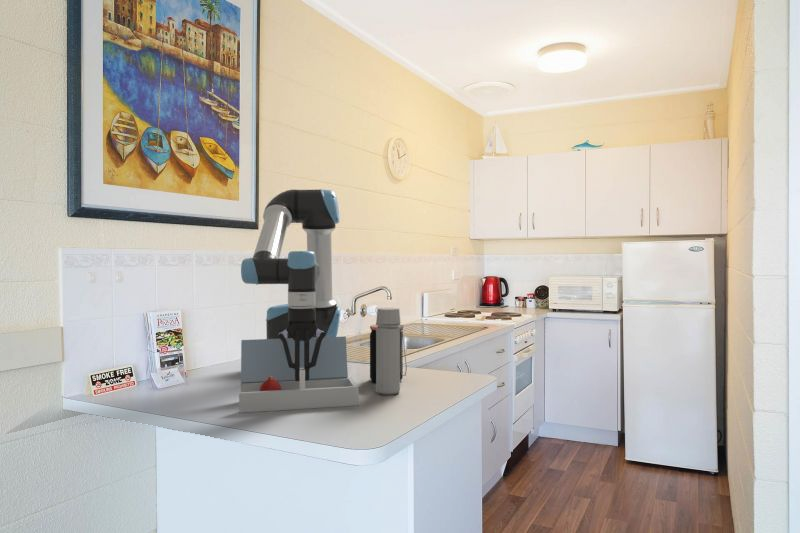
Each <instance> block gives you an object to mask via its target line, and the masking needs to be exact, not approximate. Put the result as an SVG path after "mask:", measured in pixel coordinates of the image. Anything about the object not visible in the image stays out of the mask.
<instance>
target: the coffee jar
mask: <svg viewBox="0 0 800 533" xmlns="http://www.w3.org/2000/svg"><path fill="white" fill-rule="evenodd" d="M376 327H378V326H377V325H376V324H370V326H369V328H370V330H371V332H370V333H369V378H370V380H371V381H372V383H374V384H376ZM401 335H402V330H401V327H400V364H401ZM403 339H404V334H403V335H402V364H401V371H400V382H401V381H402V379H403V378H404V376H402V374H403V375H404V371H403V370H404V369H403V368H404V366H403V364H404V363H403V362H404V361H403V360H404V358H403V354H404V353H403V352H404V345H403ZM401 373H402V374H401Z"/></svg>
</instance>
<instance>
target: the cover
mask: <svg viewBox="0 0 800 533" xmlns="http://www.w3.org/2000/svg"><path fill="white" fill-rule="evenodd" d="M316 339H317V337H316V338H311V339H310V340H309V363H310V362H311V360H312V356H313V351H314V347H315V343H316ZM286 340H287V343H288V347H289V351H290V355H291V359H292V363H295V340H293V338H287V339H286ZM240 345H241V346H240V348H241V349H240V352H241V353H240V354H241V356H240V384H241V383H260V382H265V381H266V380H268V377H269V376H272V377H273V379H274V380H276V381H277V382H280V381H296V380H295V369H293V368H290V367H289V366H288V362H287V358H286V354H285V350H284V346H283V342H282V341H281V339H267V338H266V339H265V338H264V339H263V338H261V339H241V341H240ZM347 354H348V353H347V337H346V336H336V337H324V338H323V339H322V341H321V346H320V350H319V354H318V358H317V362H316V366H315V367H311V368H310V369H309V380H319V379H338V378H349V377H348V376H349V375H348V371H349V370H348V355H347ZM300 368H304V341H300Z"/></svg>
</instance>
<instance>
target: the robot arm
mask: <svg viewBox="0 0 800 533" xmlns="http://www.w3.org/2000/svg"><path fill="white" fill-rule="evenodd" d="M262 215H263V216H262V218H263V221H264V222H263V224H262V226H261V227H262V228H261V230H260V233H259V234H260V235H259V237H258V239H257V243H256V246H255V250H254V252H253V255H252V257H250V258H249V257H248V258H244V259H243V260H242V262H241V264H240V266H241V267H240V275H241V280H242V282H243V283H244V284H248V285H249V284H250V285H287V303H286V304H284V303H283V304H279V305H273V306H270V307H269V308H267V310H266V319H265V322H266V323H265V324H266V339H281V341H282V342H283V346H284V350H285V354H286V358H287V362H288V366H289V367H290V368H293V369H295V380H296V381H299V389H305V381H309V369H310V368H311V367H315V366H316V362H317V358H318V354H319V350H320V346H321V341H322V339H323V338H324V337H338V332H339V326H340V319H341V307H340V306H339V305H338V304H337V303H338V302H337V300H335V299H334V298H333V267H332V266H333V264H332V261H333V260H332V257H333V254H332V252H333V251H332V233H333V231H334V230H335V229H336V224H339V223H340V211H339V203H338V199H337V194H336V193H335V191H333V189H332V190H331V189H288V190H285V191H282V192H280V193H279V194H277V195H275V196H274V197H273V198H272V199H271V200H270V201H269V202H268V203H267V204H266V206H265V208H264V210H263V214H262ZM291 224H302V225H301V229H302V230H304V232H305V233H306V250H293V251H289V252H288V254H287V258H282V257H281V258H280V256H281V253H282V248H283V243H284V240H285V236H286V232H287V228H289V226H290V225H291ZM316 337H317V339H316V343H315V347H314V351H313V356H312V360H311V362H310V363H309V340H310V339H311V338H316ZM287 338H293V340H295V363H292V359H291V355H290V351H289V347H288V343H287V340H286V339H287ZM300 341H304V368H300Z"/></svg>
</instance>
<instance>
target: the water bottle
mask: <svg viewBox="0 0 800 533" xmlns="http://www.w3.org/2000/svg"><path fill="white" fill-rule="evenodd" d="M400 312H401V311H400V308H399V307H380V308H379V307H378V308H377V310H376V322H375V325H377V326H378V327H376V383H375V385H376V388H375V391H376V393H378V394H379V395H383V396H392V395H396V394H398V393H400V390H401V381H400V371H401V364H402V335H403V336H404V331H403V330H404V325H403V324H401V322H402V321H401V313H400ZM400 327H401V332H402V335H401V364H400ZM403 352H404V353H403V354H404V361H405V363H404V364H405V372H404V373H403V374H402V373H401V374H402V376H403V377H404V376H405V377H406V375H407V369H408V366H407V357H406V349H405V339H404V338H403Z"/></svg>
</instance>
